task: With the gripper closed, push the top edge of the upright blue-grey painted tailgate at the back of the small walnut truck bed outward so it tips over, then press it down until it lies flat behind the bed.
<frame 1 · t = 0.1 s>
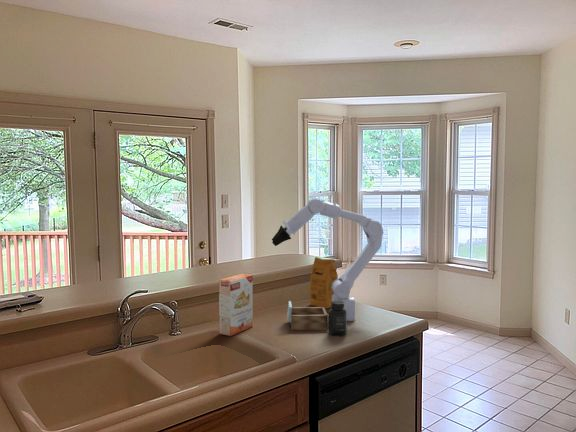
hand: (273, 242, 196), 32 cm above the counter, tool tilted 50°, fingers open, 7 cm apart
supplement bottle: (337, 334, 180), on the counter
tailgate: (289, 312, 190), point 5 cm above the counter, hinge at -6.0°
cracker box: (236, 331, 184), on the counter
coffee package: (323, 305, 220), on the counter
truck bed: (308, 324, 191), on the counter
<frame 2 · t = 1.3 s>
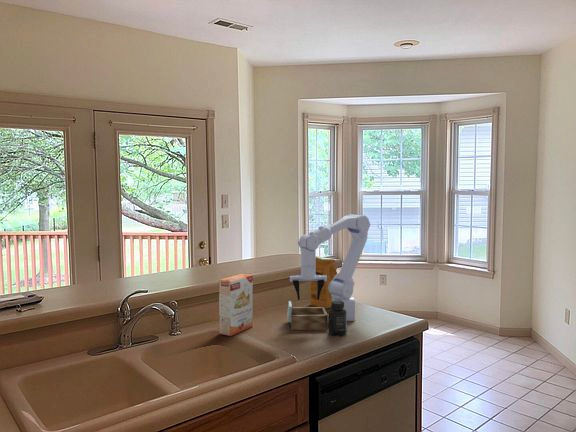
hand: (308, 299, 190), 10 cm above the counter, tool pointing down, fingers open, 7 cm apart
nothing on the counter moved.
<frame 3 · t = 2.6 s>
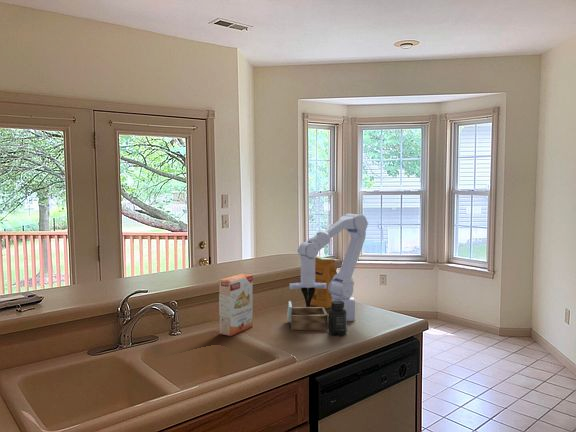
hand: (307, 306, 190), 7 cm above the counter, tool pointing down, fingers closed
nothing on the counter moved.
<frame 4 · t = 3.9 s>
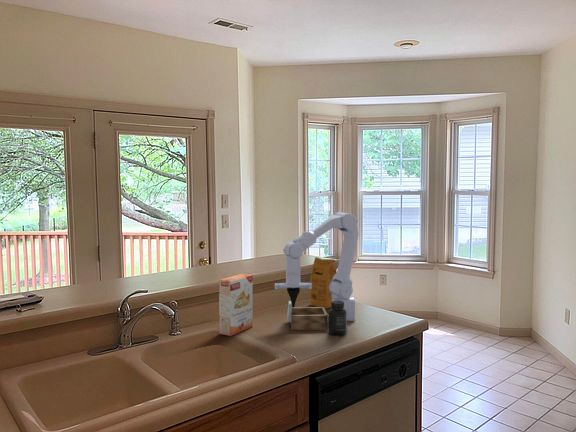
hand: (293, 306, 190), 7 cm above the counter, tool pointing down, fingers closed, pressing on tailgate
tailgate: (289, 312, 190), point 5 cm above the counter, hinge at -6.0°, touching gripper
everything else where it was.
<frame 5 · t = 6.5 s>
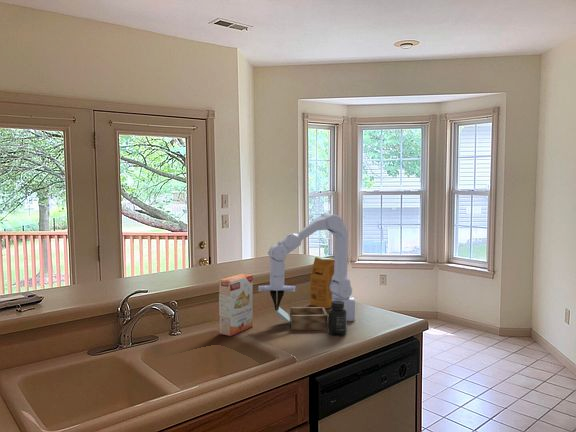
hand: (276, 309, 190), 6 cm above the counter, tool pointing down, fingers closed
tailgate: (283, 314, 190), point 4 cm above the counter, hinge at 50.5°, touching gripper
everything else where it was.
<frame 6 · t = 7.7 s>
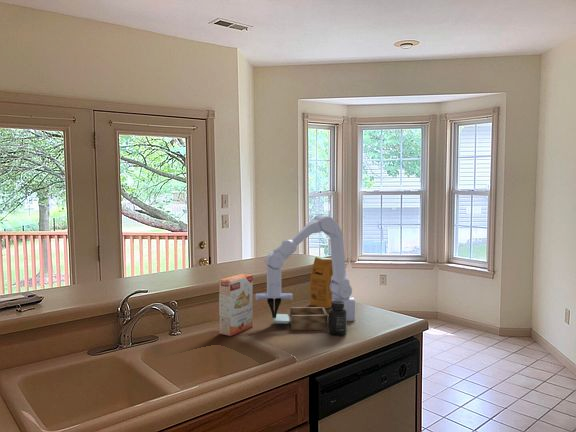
hand: (274, 317, 190), 3 cm above the counter, tool pointing down, fingers closed, pressing on tailgate
tailgate: (281, 318, 190), point 3 cm above the counter, hinge at 86.5°, touching gripper
everything else where it was.
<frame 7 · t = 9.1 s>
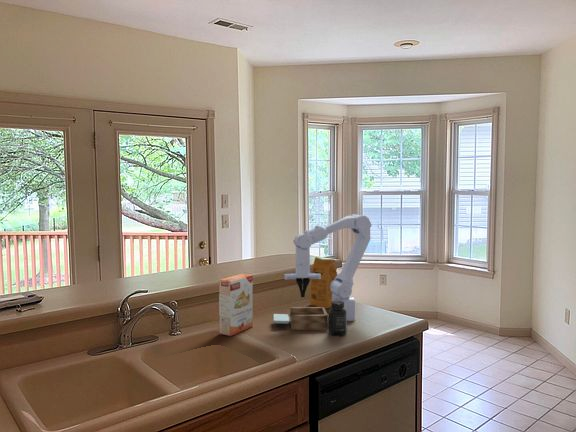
hand: (302, 296, 194), 10 cm above the counter, tool pointing down, fingers closed
tailgate: (281, 318, 190), point 3 cm above the counter, hinge at 86.6°
everything else where it was.
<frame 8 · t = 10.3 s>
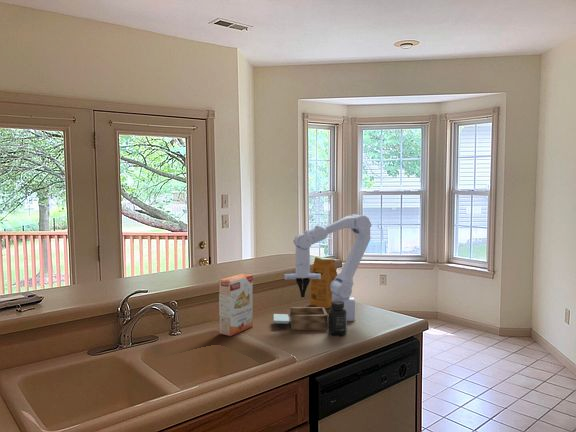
hand: (302, 296, 194), 10 cm above the counter, tool pointing down, fingers closed
nothing on the counter moved.
at the end: tailgate at +87° (first picture: -6°) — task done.
